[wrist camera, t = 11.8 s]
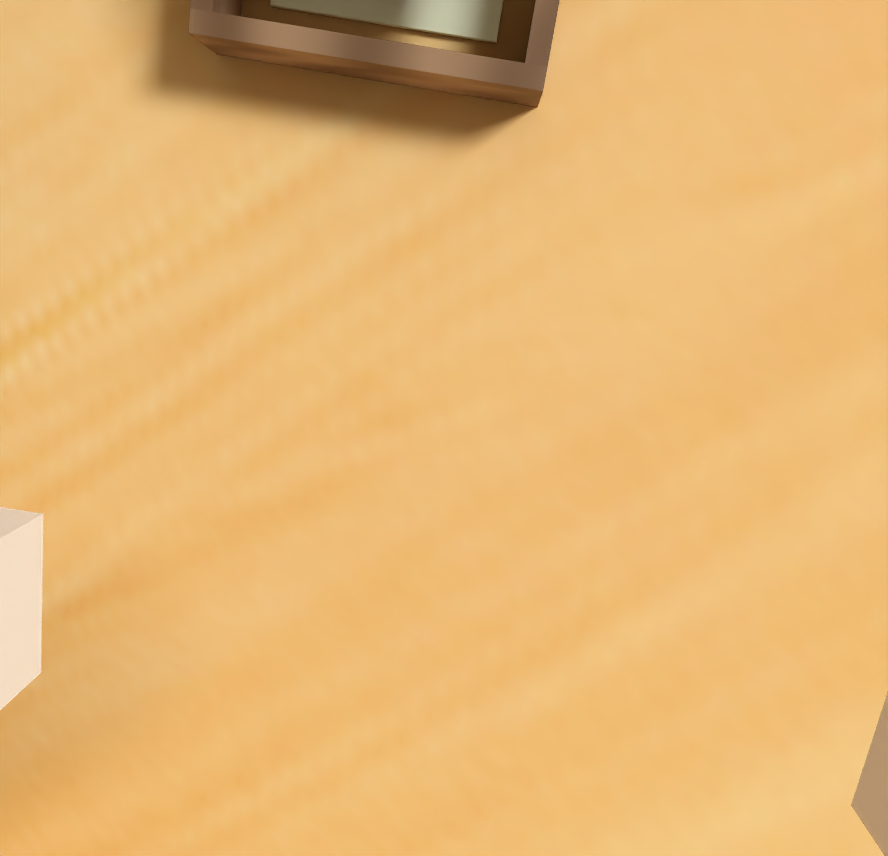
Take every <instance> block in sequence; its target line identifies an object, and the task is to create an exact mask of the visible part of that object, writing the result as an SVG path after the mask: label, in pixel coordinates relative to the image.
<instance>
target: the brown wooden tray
mask: <svg viewBox="0 0 888 856" xmlns="http://www.w3.org/2000/svg"><path fill="white" fill-rule="evenodd" d="M241 3H242V0H191V5H190V19H189V32H188V33H189V34H191V35H192V36H193V37H195V38H196V39H197V40H199V41H200V42H201V43H203V44H204V45H205V46H207V47H208V48H209V49H211V50H212V51H213V52H215V53H216V54H219V55H225V56H231V57H237V58H243V59H249V60H255V61H261V62H267V63H273V64H279V65H285V66H292V67H298V68H304V69H310V70H316V71H322V72H328V73H334V74H340V75H346V76H352V77H358V78H364V79H370V80H377V81H383V82H389V83H395V84H401V85H407V86H413V87H419V88H425V89H431V90H437V91H443V92H449V93H455V94H462V95H468V96H474V97H480V98H486V99H492V100H498V101H504V102H510V103H516V104H522V105H528V106H534V107H538V104H539V101H540V98H541V95H542V92H543V88H544V83H545V77H546V72H547V66H548V60H549V55H550V49H551V44H552V38H553V33H554V27H555V22H556V16H557V11H558V5H559V0H535V5H534V11H533V17H532V22H531V28H530V34H529V40H528V45H527V51H526V57H525V63H522V62H516V61H510V60H504V59H498V58H492V57H485V56H479V55H473V54H467V53H461V52H455V51H449V50H443V49H437V48H430V47H424V46H418V45H412V44H406V43H400V42H394V41H388V40H382V39H375V38H369V37H363V36H357V35H351V34H345V33H339V32H333V31H327V30H320V29H314V28H308V27H302V26H296V25H290V24H284V23H278V22H272V21H266V20H259V19H253V18H247V17H241V16H240V15H241Z"/></svg>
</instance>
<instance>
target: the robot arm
mask: <svg viewBox="0 0 888 856" xmlns="http://www.w3.org/2000/svg"><path fill="white" fill-rule="evenodd" d="M42 565H43V514H41V513H35V512H29V511H22V510H16V509H10V508H3V507H0V710H1V709H2V708H3V707H4V706H5V705H6V704H7V703H9V702H10V701H11V700H12V699H13V698H14V697H15V696H16V695H17V694H18V693H19V692H20V691H22V690H23V689H24V688H25V687H26V686H27V685H28V684H29V683H30V682H31V681H32V680H33V679H35V678H36V677H37V676H38V675H39V674H40V673H41V643H42ZM851 806H852V807H853V809H854V810H855V812H856V813H857V815H858V816H859V818H860V819H861V821H862V822H863V824H864V825H865V827H866V828H867V830H868V831H869V833H870V834H871V836H872V837H873V839H874V840H875V842H876V843H877V845H878V846H879V848H880V849H881V851H882V852H883V854H884V855H885V856H888V693H887V696H886V699H885V702H884V705H883V709H882V712H881V715H880V718H879V721H878V724H877V727H876V730H875V733H874V736H873V739H872V742H871V746H870V749H869V752H868V755H867V758H866V761H865V764H864V767H863V770H862V773H861V776H860V779H859V783H858V786H857V789H856V792H855V795H854V798H853V801H852V804H851Z"/></svg>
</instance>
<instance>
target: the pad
mask: <svg viewBox="0 0 888 856" xmlns="http://www.w3.org/2000/svg"><path fill="white" fill-rule="evenodd" d="M270 5H271V6H272V7H277V8H283V9H289V10H295V11H301V12H307V13H313V14H319V15H326V16H332V17H338V18H344V19H350V20H356V21H362V22H368V23H374V24H381V25H387V26H393V27H399V28H405V29H411V30H417V31H423V32H430V33H436V34H442V35H448V36H454V37H460V38H466V39H472V40H479V41H485V42H491V43H496V42H497V36H498V29H499V23H500V17H501V11H502V5H503V0H271V2H270Z"/></svg>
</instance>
